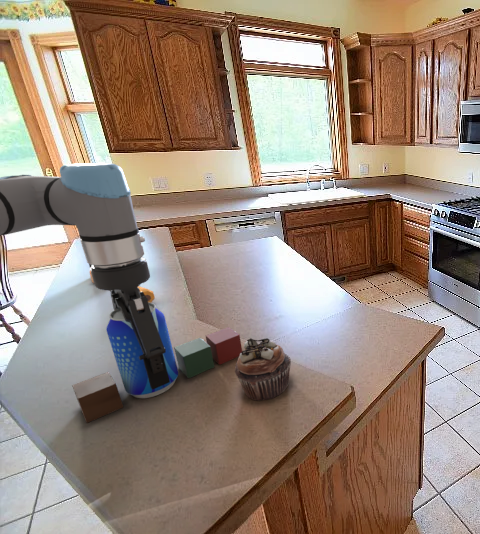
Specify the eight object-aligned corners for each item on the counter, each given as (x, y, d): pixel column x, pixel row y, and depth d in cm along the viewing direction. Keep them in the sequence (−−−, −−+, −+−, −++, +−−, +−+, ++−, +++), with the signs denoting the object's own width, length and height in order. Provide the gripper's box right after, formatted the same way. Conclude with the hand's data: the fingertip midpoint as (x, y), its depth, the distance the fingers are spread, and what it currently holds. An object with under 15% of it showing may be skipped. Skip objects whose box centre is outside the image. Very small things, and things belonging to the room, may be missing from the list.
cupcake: (295, 396, 65) (290, 349, 62) (237, 409, 62) (228, 361, 58) (291, 366, 73) (286, 323, 70) (240, 376, 70) (232, 332, 67)
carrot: (154, 306, 100) (158, 290, 100) (135, 305, 97) (138, 289, 97) (138, 292, 114) (141, 278, 114) (121, 291, 110) (124, 277, 110)
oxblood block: (209, 355, 77) (205, 335, 75) (232, 346, 80) (228, 326, 79) (219, 364, 74) (215, 344, 72) (243, 354, 77) (239, 334, 76)
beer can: (188, 381, 69) (170, 307, 63) (139, 407, 62) (115, 327, 56) (166, 367, 73) (147, 296, 67) (118, 390, 66) (93, 313, 61)
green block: (179, 368, 73) (173, 347, 71) (204, 357, 76) (200, 337, 74) (188, 378, 70) (183, 357, 68) (214, 367, 73) (210, 346, 71)
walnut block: (80, 408, 62) (71, 385, 60) (116, 394, 65) (108, 371, 63) (86, 423, 59) (77, 398, 57) (123, 407, 62) (115, 383, 60)
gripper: (170, 273, 54) (196, 388, 61) (124, 241, 69) (150, 337, 76) (108, 287, 48) (145, 412, 56) (74, 250, 64) (107, 352, 71)
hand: (148, 369), depth 66 cm, fingers open, 13 cm apart
